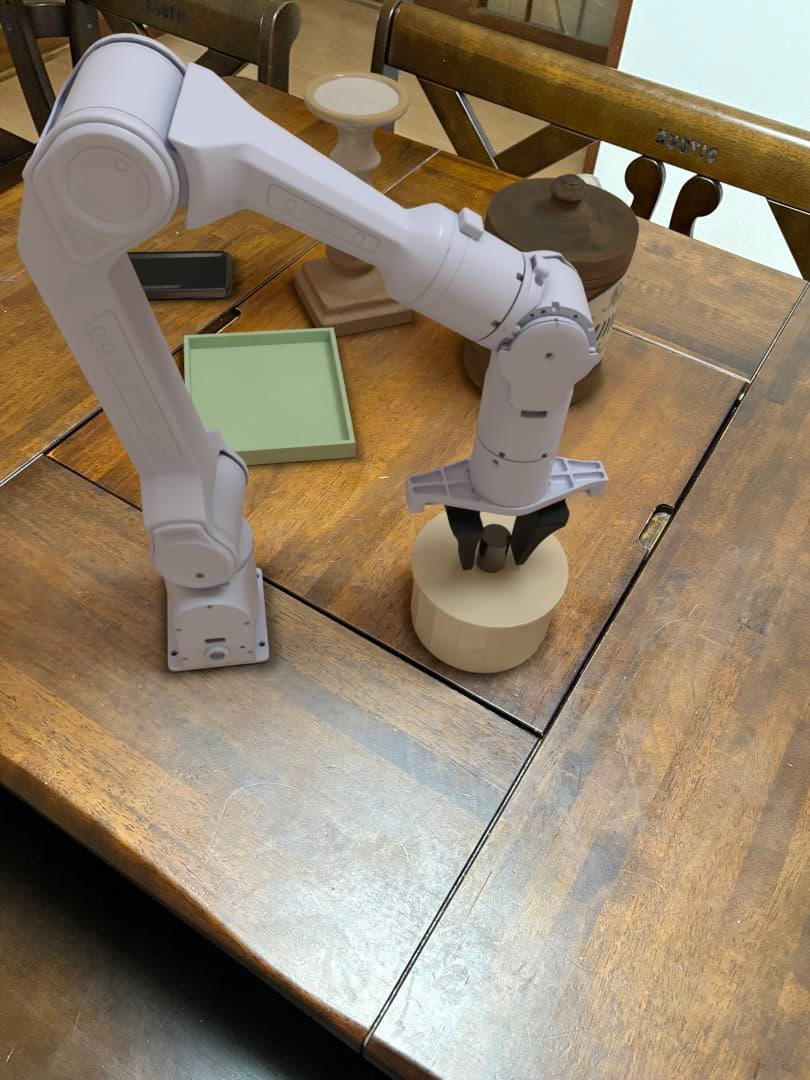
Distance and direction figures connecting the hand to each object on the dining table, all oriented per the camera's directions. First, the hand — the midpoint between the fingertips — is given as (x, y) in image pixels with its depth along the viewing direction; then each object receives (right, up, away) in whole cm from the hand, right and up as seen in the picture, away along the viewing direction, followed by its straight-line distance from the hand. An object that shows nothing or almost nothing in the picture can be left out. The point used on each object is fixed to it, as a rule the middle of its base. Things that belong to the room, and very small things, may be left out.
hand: (491, 557), depth 72 cm
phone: (-35, +32, +34) cm, 58 cm away
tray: (-21, +16, +22) cm, 34 cm away
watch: (+14, +36, +42) cm, 57 cm away
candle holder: (-13, +29, +33) cm, 46 cm away
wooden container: (+7, +20, +28) cm, 35 cm away
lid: (0, -1, +1) cm, 1 cm away
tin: (0, -5, +6) cm, 8 cm away
